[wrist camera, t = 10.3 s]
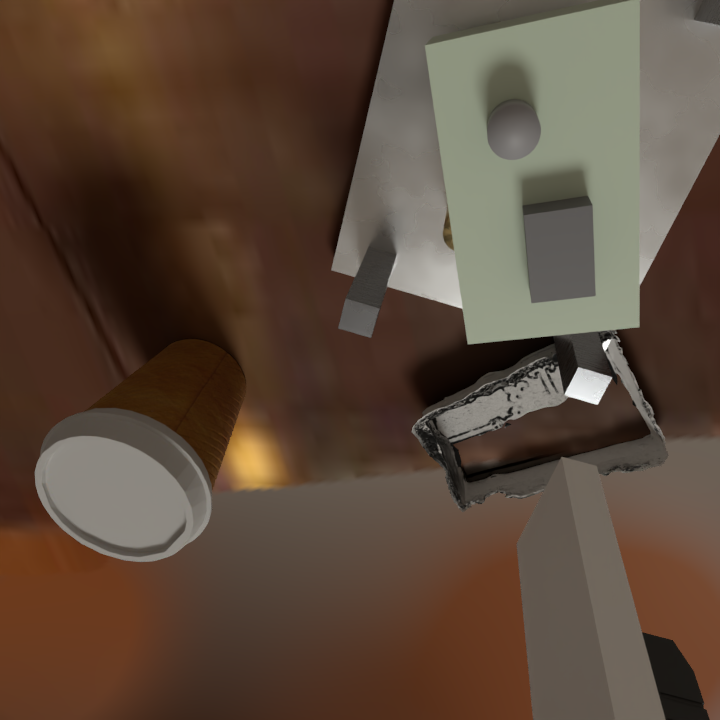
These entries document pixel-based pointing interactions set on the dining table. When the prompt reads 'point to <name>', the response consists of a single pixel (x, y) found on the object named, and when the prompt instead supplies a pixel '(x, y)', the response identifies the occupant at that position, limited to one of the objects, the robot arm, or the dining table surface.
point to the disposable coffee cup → (145, 455)
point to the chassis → (425, 173)
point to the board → (543, 169)
